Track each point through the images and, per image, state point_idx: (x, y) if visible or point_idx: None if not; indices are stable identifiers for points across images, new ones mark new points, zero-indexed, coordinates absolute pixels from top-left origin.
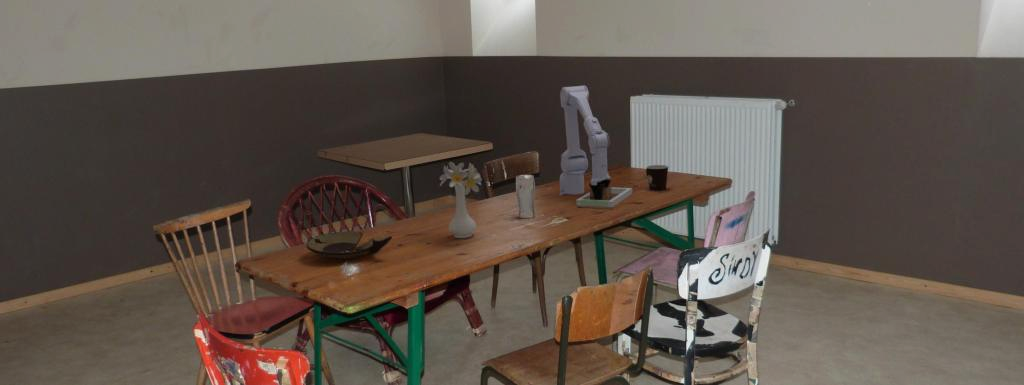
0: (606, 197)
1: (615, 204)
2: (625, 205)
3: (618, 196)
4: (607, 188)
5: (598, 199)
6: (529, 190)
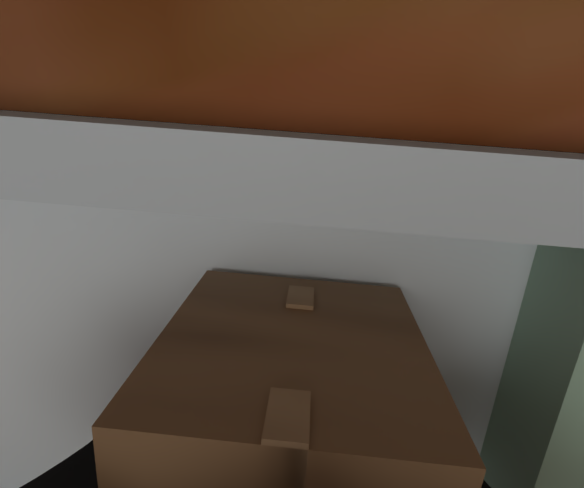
0: (422, 351)
1: (478, 148)
2: (310, 17)
3: (222, 162)
4: (315, 483)
5: None
6: None
